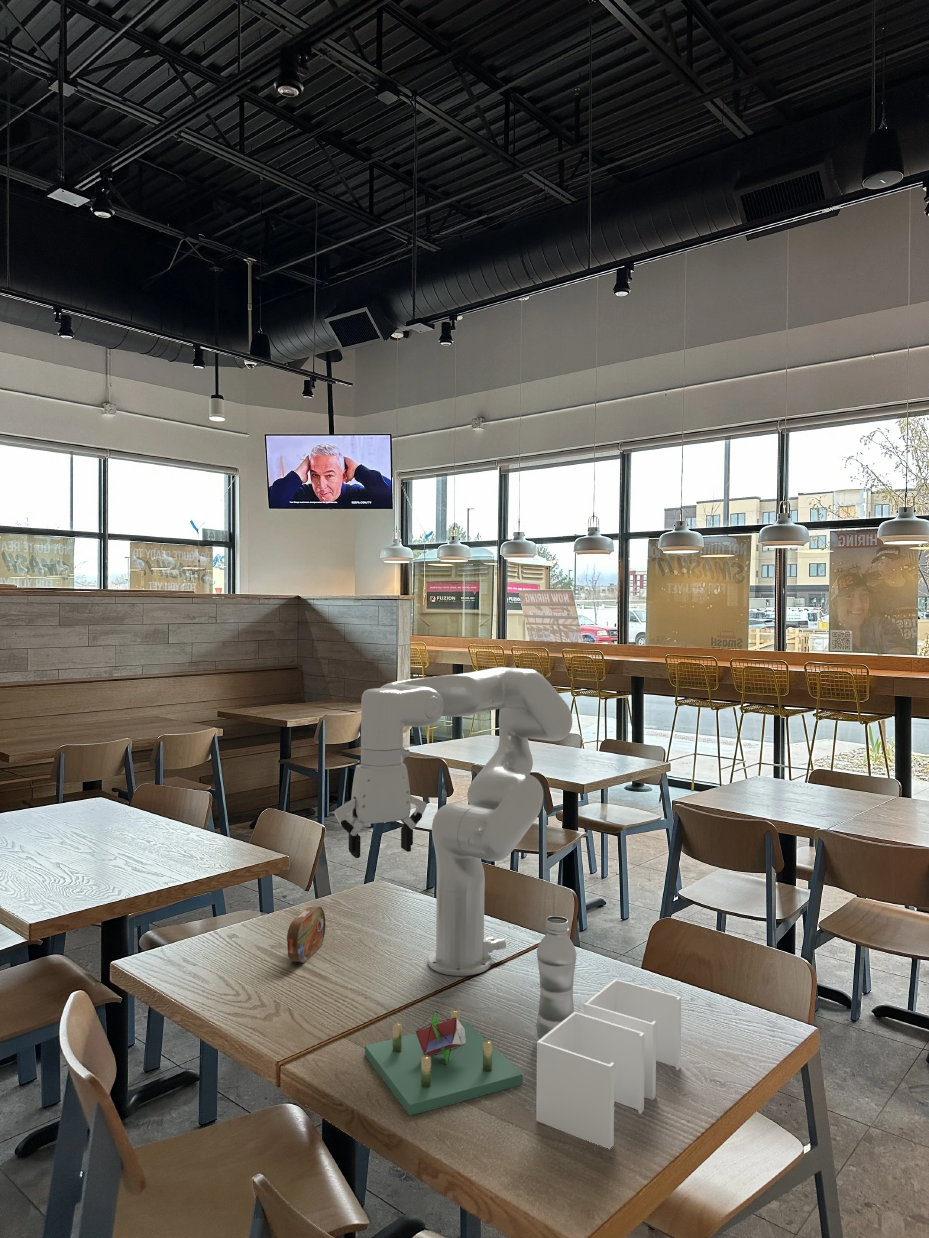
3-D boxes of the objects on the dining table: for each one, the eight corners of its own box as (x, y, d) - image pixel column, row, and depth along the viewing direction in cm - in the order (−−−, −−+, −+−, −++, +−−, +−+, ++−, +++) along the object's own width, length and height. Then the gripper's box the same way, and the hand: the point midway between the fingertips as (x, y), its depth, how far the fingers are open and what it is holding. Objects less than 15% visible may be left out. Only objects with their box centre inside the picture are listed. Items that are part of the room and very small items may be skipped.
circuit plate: (467, 1030, 141) (467, 1021, 141) (522, 1084, 125) (522, 1074, 125) (364, 1054, 133) (364, 1045, 133) (409, 1115, 116) (409, 1104, 116)
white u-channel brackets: (614, 1047, 136) (615, 978, 136) (680, 1068, 130) (681, 996, 130) (536, 1121, 116) (536, 1041, 116) (609, 1151, 109) (610, 1066, 109)
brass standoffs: (457, 1033, 137) (457, 1008, 137) (493, 1070, 126) (494, 1043, 126) (391, 1048, 131) (391, 1023, 131) (423, 1088, 120) (423, 1060, 120)
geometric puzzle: (403, 1054, 126) (435, 1012, 125) (409, 1031, 133) (440, 992, 132) (441, 1085, 125) (474, 1043, 125) (445, 1060, 132) (476, 1021, 132)
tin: (299, 969, 165) (299, 926, 165) (283, 968, 165) (284, 925, 165) (326, 940, 179) (327, 901, 179) (312, 939, 180) (313, 900, 180)
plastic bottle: (548, 1057, 132) (550, 929, 132) (528, 1037, 138) (529, 915, 138) (584, 1049, 135) (585, 924, 135) (562, 1030, 141) (563, 910, 141)
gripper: (417, 751, 159) (417, 842, 159) (328, 757, 151) (328, 853, 151) (434, 757, 152) (433, 852, 152) (342, 764, 144) (341, 864, 144)
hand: (381, 853), depth 152 cm, fingers open, 9 cm apart
